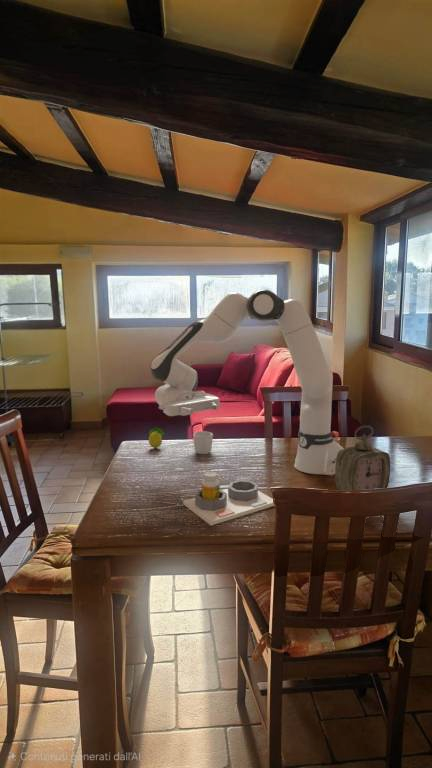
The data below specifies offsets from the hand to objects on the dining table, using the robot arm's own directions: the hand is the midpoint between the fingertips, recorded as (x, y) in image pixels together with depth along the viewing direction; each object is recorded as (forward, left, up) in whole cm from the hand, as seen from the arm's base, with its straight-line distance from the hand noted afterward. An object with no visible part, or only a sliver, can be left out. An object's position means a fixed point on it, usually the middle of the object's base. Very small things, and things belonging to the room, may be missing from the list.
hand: (203, 409), depth 153 cm
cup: (-18, -30, -27) cm, 44 cm away
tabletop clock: (-33, +38, -27) cm, 57 cm away
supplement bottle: (+7, +16, -25) cm, 31 cm away
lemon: (-3, -44, -27) cm, 51 cm away
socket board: (+1, +17, -26) cm, 31 cm away
